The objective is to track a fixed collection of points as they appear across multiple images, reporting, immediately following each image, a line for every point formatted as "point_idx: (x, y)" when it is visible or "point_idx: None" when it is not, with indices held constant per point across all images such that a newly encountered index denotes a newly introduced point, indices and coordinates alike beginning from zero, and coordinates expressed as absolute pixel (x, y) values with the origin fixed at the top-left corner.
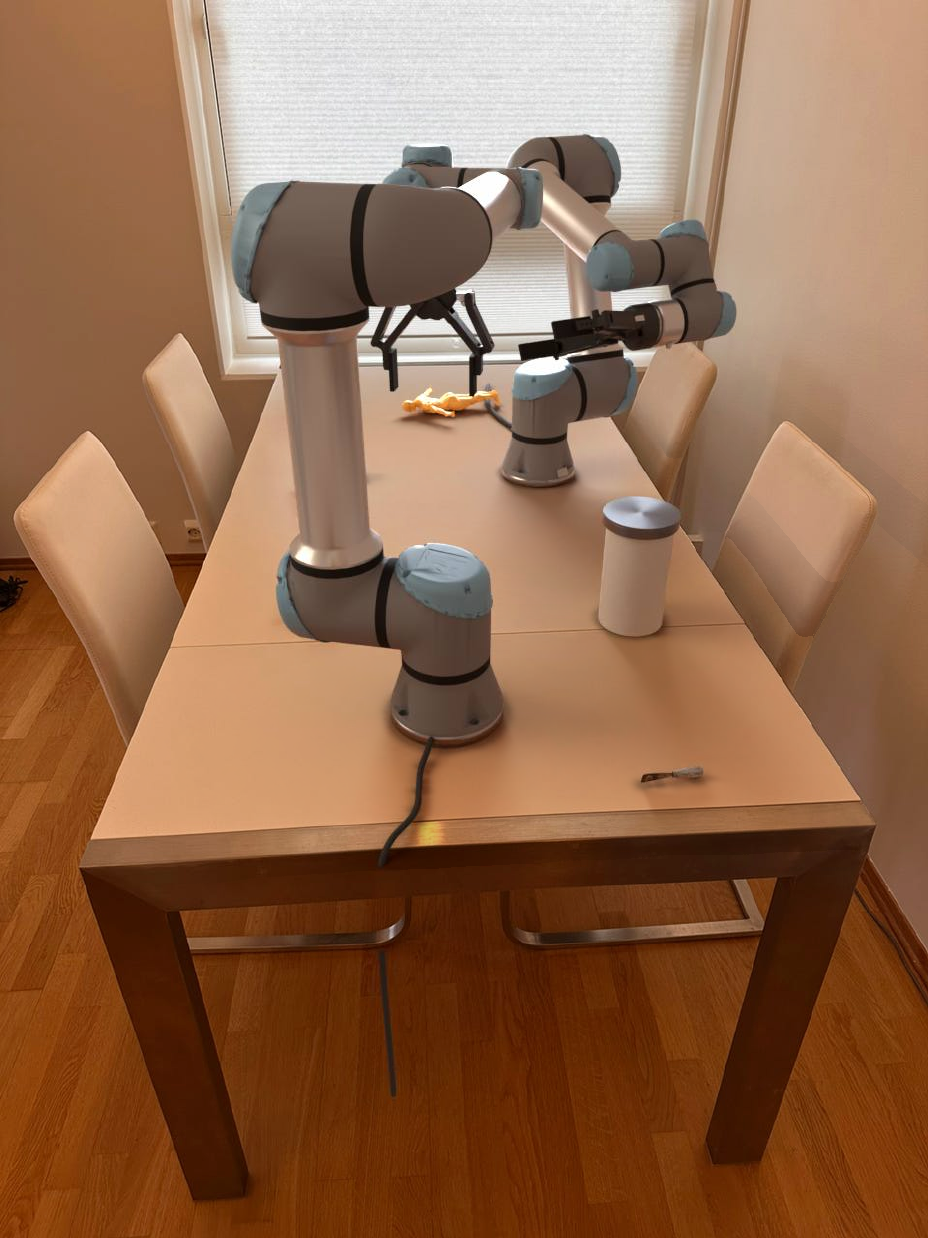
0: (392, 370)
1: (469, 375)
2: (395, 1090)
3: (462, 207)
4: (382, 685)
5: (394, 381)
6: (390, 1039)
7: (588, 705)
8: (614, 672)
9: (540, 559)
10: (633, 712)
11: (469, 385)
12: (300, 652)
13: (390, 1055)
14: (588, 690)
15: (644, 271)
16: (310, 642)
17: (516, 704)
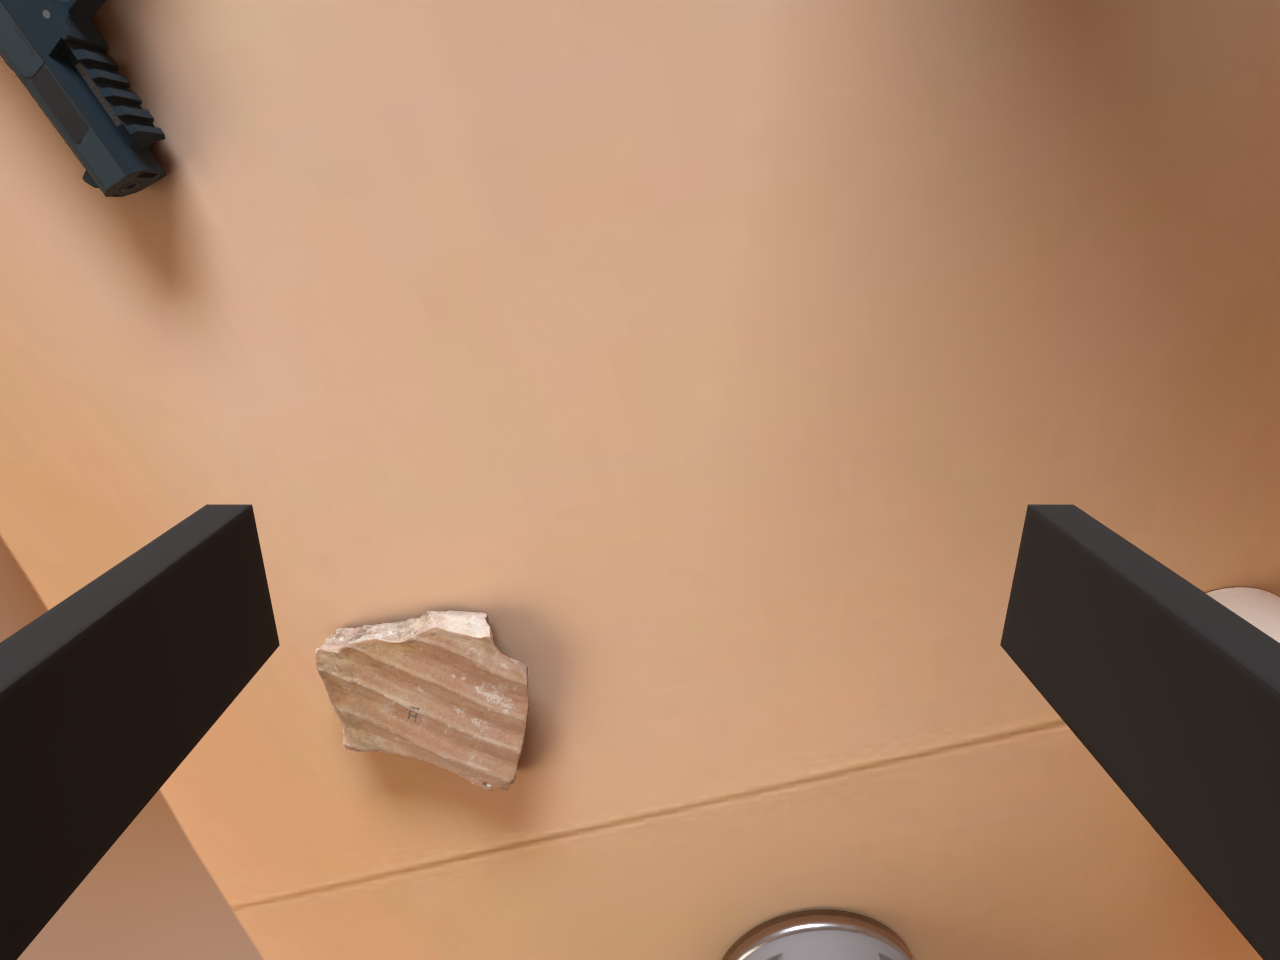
0: (145, 792)
1: (1125, 787)
2: None
3: None
4: (679, 940)
5: (227, 674)
6: None
7: (1072, 928)
8: (1139, 838)
9: (998, 388)
10: (1153, 931)
11: (1059, 713)
12: (480, 885)
13: None
14: (1077, 893)
15: None
16: (485, 855)
17: (937, 945)
